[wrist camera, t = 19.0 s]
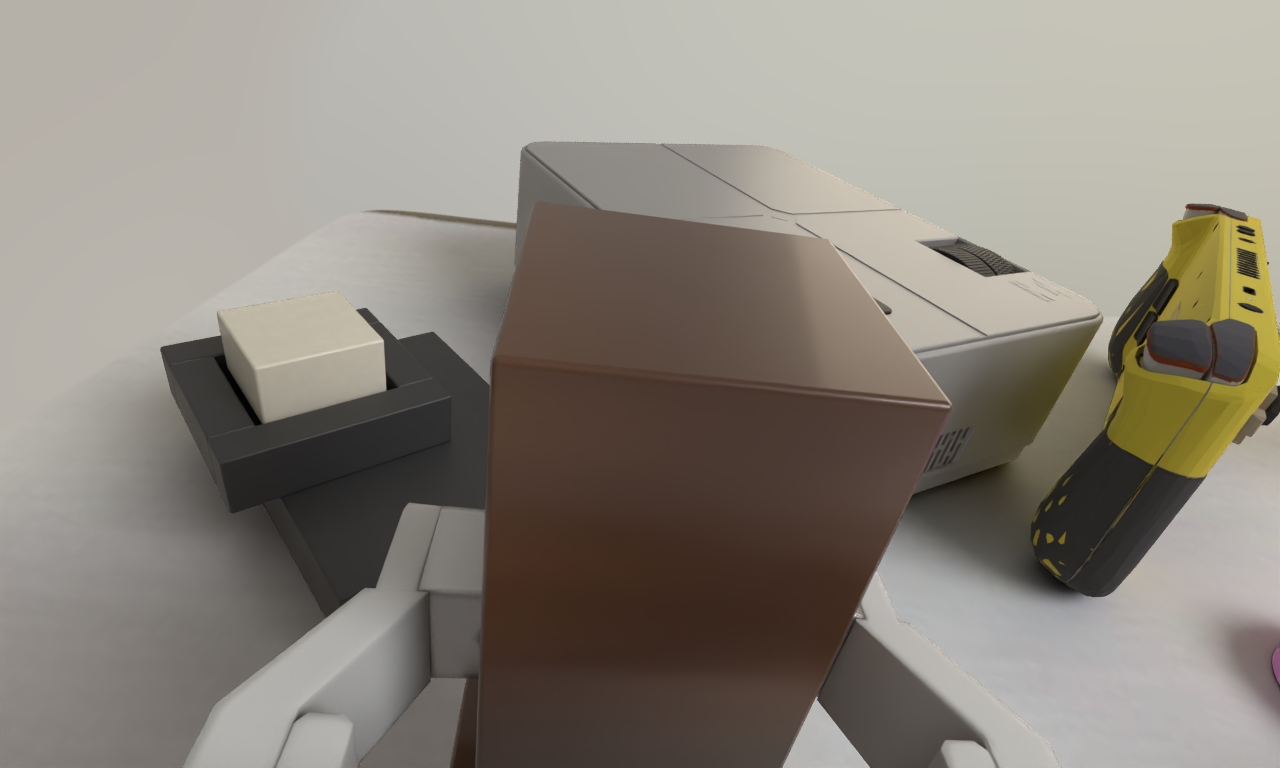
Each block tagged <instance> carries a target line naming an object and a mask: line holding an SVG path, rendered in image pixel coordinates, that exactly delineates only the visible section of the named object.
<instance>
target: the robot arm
mask: <svg viewBox="0 0 1280 768" xmlns="http://www.w3.org/2000/svg"><path fill="white" fill-rule="evenodd" d="M484 524H485V510H482V509H472V508H462V507H452V506H434V505H425V504H416V503H408V504H407V506H406V507H405V508H404V510H403V512H402V515H401V518H400V520H399V523H398V526H397V529H396V532H395V535H394V538H393V540H392V543H391V546H390V549H389V552H388V555H387V557H386V560H385V563H384V566H383V569H382V572H381V574H380V577H379V580H378V583H377V586H376V588H364V589H363V590H362V591H360V592H359V593H358V594H356V595H355V596H354V597H353V598H351V599H350V600H349V601H347V602H346V603H345V604H344V605H342V606H341V607H340V608H338V609H337V610H336V611H335V612H333V613H332V614H331V615H329V616H328V617H327V618H326V619H324V620H323V621H322V622H320V623H319V624H318V625H316V626H315V627H314V628H313V629H311V630H310V631H309V632H307V633H306V634H305V635H304V636H302V637H301V638H300V639H298V640H297V641H296V642H295V643H293V644H292V645H291V646H289V647H288V648H287V649H286V650H284V651H283V652H282V653H280V654H279V655H278V656H277V657H275V658H274V659H273V660H271V661H270V662H269V663H268V664H266V665H265V666H264V667H262V668H261V669H260V670H259V671H257V672H256V673H255V674H253V675H252V676H251V677H250V678H248V679H247V680H246V681H244V682H243V683H242V684H241V685H239V686H238V687H237V688H235V689H234V690H233V691H232V692H230V693H229V694H228V695H226V696H225V697H224V698H222V699H221V700H220V701H219V702H217V703H216V704H215V705H214V707H213V709H212V711H211V713H210V715H209V717H208V718H207V720H206V722H205V724H204V726H203V728H202V730H201V732H200V734H199V736H198V738H197V740H196V742H195V744H194V746H193V748H192V750H191V752H190V754H189V756H188V757H187V759H186V761H185V763H184V765H183V767H182V768H359V767H358V764H359V763H360V762H361V761H362V760H363V759H364V757H365V756H366V755H367V754H368V753H369V752H370V750H371V749H372V748H373V747H374V746H375V745H376V744H377V742H378V741H379V740H380V739H381V738H382V737H383V735H384V734H385V733H386V732H387V731H388V730H389V729H390V727H391V726H392V725H393V724H394V723H395V722H396V720H397V719H398V718H399V717H400V716H401V715H402V713H403V712H404V711H405V710H406V709H407V708H408V707H409V705H410V704H411V703H412V702H413V701H414V700H415V698H416V697H417V696H418V695H419V694H420V693H421V692H422V690H423V689H424V688H425V687H426V686H427V685H428V683H429V682H430V678H468V679H479V656H480V630H481V603H482V577H483V551H484ZM816 697H818V699H817V700H818V701H819V703H820V704H821V705H822V707H823V708H824V709H825V710H826V712H827V713H828V714H829V715H830V717H831V718H832V719H833V721H834V722H835V723H836V724H837V726H838V727H839V728H840V729H841V731H842V732H843V733H844V735H845V736H846V737H847V738H848V740H849V741H850V742H851V743H852V745H853V746H854V747H855V749H856V750H857V751H858V752H859V754H860V755H861V756H862V757H863V759H864V760H865V761H866V763H867V764H868V765H869V766H870V768H1062V766H1061V764H1060V763H1059V761H1058V759H1057V757H1056V755H1055V753H1054V752H1053V750H1052V748H1051V746H1050V744H1049V743H1048V742H1047V741H1046V740H1045V739H1044V738H1043V737H1042V736H1040V735H1039V734H1038V733H1037V732H1036V731H1035V730H1033V729H1032V728H1031V727H1030V726H1029V725H1028V724H1026V723H1025V722H1024V721H1023V720H1022V719H1021V718H1019V717H1018V716H1017V715H1016V714H1015V713H1014V712H1012V711H1011V710H1010V709H1009V708H1008V707H1007V706H1005V705H1004V704H1003V703H1002V702H1001V701H1000V700H998V699H997V698H996V697H995V696H994V695H993V694H991V693H990V692H989V691H988V690H987V689H986V688H984V687H983V686H982V685H981V684H980V683H979V682H977V681H976V680H975V679H974V678H973V677H972V676H970V675H969V674H968V673H967V672H966V671H965V670H964V669H962V668H961V667H960V666H959V665H958V664H957V663H955V662H954V661H953V660H952V659H951V658H950V657H948V656H947V655H946V654H945V653H944V652H943V651H941V650H940V649H939V648H938V647H937V646H936V645H934V644H933V643H932V642H931V641H930V640H929V639H927V638H926V637H925V636H924V635H923V634H922V633H920V632H919V631H918V630H917V629H916V628H915V627H913V626H912V625H911V624H910V623H905V622H900V621H899V619H898V616H897V614H896V612H895V610H894V607H893V605H892V603H891V601H890V598H889V596H888V594H887V592H886V589H885V587H884V585H883V583H882V580H881V578H880V576H879V574H878V571H877V570H876V572H875V574H874V576H873V578H872V580H871V582H870V584H869V587H868V589H867V591H866V593H865V595H864V597H863V599H862V601H861V603H860V605H859V608H858V610H857V612H856V614H855V616H854V618H853V620H852V622H851V624H850V626H849V629H848V631H847V633H846V635H845V637H844V639H843V641H842V643H841V645H840V647H839V649H838V652H837V654H836V656H835V658H834V660H833V662H832V664H831V666H830V668H829V670H828V673H827V675H826V677H825V679H824V681H823V683H822V685H821V687H820V689H819V691H818V694H817V696H816Z"/></svg>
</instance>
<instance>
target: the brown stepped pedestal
mask: <svg viewBox="0 0 1280 768" xmlns="http://www.w3.org/2000/svg"><path fill="white" fill-rule="evenodd" d="M951 413H952V403H951V402H950V400H949V399H948V398H947V396H946V395H945V394H944V392H943V391H942V390H941V388H940V387H939V386H938V384H937V383H936V382H935V380H934V379H933V378H932V376H931V375H930V374H929V372H928V371H927V370H926V368H925V367H924V366H923V364H922V363H921V362H920V360H919V359H918V358H917V356H916V355H915V354H914V352H913V351H912V350H911V348H910V347H909V346H908V344H907V343H906V342H905V340H904V339H903V338H902V336H901V335H900V334H899V332H898V331H897V329H896V328H895V327H894V325H893V324H892V323H891V321H890V320H889V319H888V317H887V316H886V315H885V313H884V312H883V311H882V309H881V308H880V307H879V305H878V304H877V303H876V301H875V300H874V299H873V297H872V296H871V295H870V293H869V292H868V291H867V289H866V288H865V287H864V285H863V284H862V283H861V281H860V280H859V279H858V277H857V276H856V275H855V273H854V272H853V271H852V269H851V268H850V267H849V265H848V264H847V263H846V261H845V260H844V258H843V257H842V256H841V254H840V253H839V252H838V250H837V249H836V248H835V246H834V245H833V244H832V242H831V241H829V240H828V239H823V238H815V237H807V236H800V235H792V234H784V233H777V232H769V231H761V230H754V229H746V228H738V227H731V226H723V225H715V224H708V223H700V222H692V221H685V220H677V219H669V218H662V217H654V216H646V215H639V214H631V213H623V212H616V211H608V210H601V209H593V208H585V207H578V206H570V205H562V204H555V203H547V202H539V201H538V202H534V204H533V206H532V209H531V213H530V217H529V220H528V224H527V228H526V231H525V235H524V239H523V243H522V246H521V250H520V254H519V258H518V261H517V265H516V269H515V272H514V276H513V280H512V284H511V287H510V291H509V295H508V298H507V302H506V306H505V310H504V313H503V317H502V321H501V325H500V328H499V332H498V336H497V339H496V343H495V347H494V351H493V354H492V358H491V366H490V393H489V419H488V445H487V472H486V498H485V524H484V551H483V577H482V603H481V630H480V656H479V679H468V678H466V683H465V688H464V694H463V699H462V705H461V710H460V715H459V721H458V726H457V731H456V737H455V742H454V748H453V753H452V758H451V764H450V768H782V767H783V765H784V763H785V761H786V759H787V756H788V754H789V752H790V750H791V748H792V746H793V744H794V742H795V740H796V738H797V735H798V733H799V731H800V729H801V727H802V725H803V723H804V721H805V719H806V717H807V714H808V712H809V710H810V708H811V706H812V704H813V702H814V700H815V698H816V696H817V694H818V691H819V689H820V687H821V685H822V683H823V681H824V679H825V677H826V675H827V673H828V670H829V668H830V666H831V664H832V662H833V660H834V658H835V656H836V654H837V652H838V649H839V647H840V645H841V643H842V641H843V639H844V637H845V635H846V633H847V631H848V629H849V626H850V624H851V622H852V620H853V618H854V616H855V614H856V612H857V610H858V608H859V605H860V603H861V601H862V599H863V597H864V595H865V593H866V591H867V589H868V587H869V584H870V582H871V580H872V578H873V576H874V574H875V572H876V570H877V568H878V566H879V564H880V561H881V559H882V557H883V555H884V553H885V551H886V549H887V547H888V545H889V543H890V540H891V538H892V536H893V534H894V532H895V530H896V528H897V526H898V524H899V522H900V519H901V517H902V515H903V513H904V511H905V509H906V507H907V505H908V503H909V501H910V499H911V496H912V494H913V492H914V490H915V488H916V486H917V484H918V482H919V480H920V478H921V475H922V473H923V471H924V469H925V467H926V465H927V463H928V461H929V459H930V457H931V454H932V452H933V450H934V448H935V446H936V444H937V442H938V440H939V438H940V436H941V434H942V431H943V429H944V427H945V425H946V423H947V421H948V419H949V417H950V415H951Z"/></svg>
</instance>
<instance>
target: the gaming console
mask: <svg viewBox="0 0 1280 768" xmlns="http://www.w3.org/2000/svg"><path fill="white" fill-rule="evenodd" d="M1268 264H1269V263H1268V262H1267V259H1266V252H1265V245H1264V239H1263V233H1262V226H1261V220H1259V219H1257V218H1253V217H1250V216H1246V215H1245V213H1243V212H1239V211H1235V210H1232V209H1228V208H1224V207H1222V208H1221V207H1220V206H1216V205H1212V204H1187V205H1186V211H1185V214H1184V217H1183V220H1178V221H1176V222H1174V223H1173V224H1172V246H1171V249H1170V251H1169V254H1168V256H1167V257H1166V258H1165V260H1164V261H1163V262H1162V263H1161V264H1160V266H1159V267H1158V269H1157V270H1156V271H1155V273H1154V274H1153V275H1152V276H1151V277H1150V279H1149V280H1148V281H1147V282H1146V283H1145V285H1144V286H1143V287H1142V288H1141V289H1140V291H1139V292H1138V293H1137V294H1136V295H1135V297H1134V298H1133V299H1132V300H1131V302H1130V303H1129V305H1128V306H1127V308H1126V309H1125V311H1124V312H1123V314H1122V315H1121V317H1120V319H1119V320H1118V322H1117V324H1116V326H1115V328H1114V330H1113V332H1112V335H1111V339H1110V342H1109V347H1108V360H1109V364H1110V367H1111V369H1112V371H1113V372H1114V374H1115V376H1116V378H1117V387H1116V390H1115V393H1114V396H1113V400H1112V403H1111V406H1110V409H1109V412H1108V415H1107V418H1106V420H1105V423H1104V426H1103V429H1102V432H1101V433H1100V434H1099V435H1098V437H1097V438H1096V439H1095V440H1094V441H1093V442H1092V443H1091V444H1090V446H1089V447H1088V448H1087V449H1086V450H1085V451H1084V452H1083V453H1082V455H1081V456H1080V457H1079V458H1078V459H1077V460H1076V461H1075V463H1074V464H1073V465H1072V466H1071V467H1070V468H1069V469H1068V470H1067V472H1066V473H1065V474H1064V475H1063V476H1062V477H1061V478H1060V479H1059V480H1058V482H1057V483H1056V484H1055V486H1054V487H1053V488H1052V489H1051V491H1050V492H1049V493H1048V494H1047V496H1046V497H1045V498H1044V500H1043V501H1042V502H1041V503H1040V505H1039V508H1038V510H1037V512H1036V515H1035V517H1034V518H1033V522H1032V524H1031V536H1030V538H1031V539H1030V540H1031V543H1032V545H1033V548H1034V551H1035V554H1036V556H1037V557H1038V559H1039V560H1040V562H1041V563H1042V564H1043V565H1044V566H1045V567H1046V569H1047V570H1048V571H1049V572H1050V573H1051V574H1053V575H1054V576H1055V577H1056V578H1057V579H1058V580H1060V581H1061V582H1062V583H1064V584H1065V585H1067V586H1069V587H1071V588H1073V589H1074V590H1076V591H1078V592H1080V593H1082V594H1084V595H1086V596H1091V597H1103V596H1107V595H1108V594H1110V593H1112V592H1113V591H1114V590H1115V589H1116V588H1117V587H1118V586H1119V585H1120V584H1121V583H1122V581H1123V580H1124V579H1125V578H1126V577H1127V576H1128V575H1129V574H1130V573H1131V571H1132V570H1133V569H1134V568H1135V567H1136V565H1137V564H1138V563H1139V562H1140V560H1141V559H1142V558H1143V557H1144V555H1145V554H1146V553H1147V552H1148V550H1149V549H1150V548H1151V546H1152V545H1153V544H1154V543H1155V541H1156V540H1157V539H1158V537H1159V536H1160V535H1161V534H1162V532H1163V531H1164V530H1165V529H1166V527H1167V526H1168V525H1169V523H1170V522H1171V521H1172V520H1173V518H1174V517H1175V516H1176V515H1177V513H1178V512H1179V511H1180V509H1181V508H1182V507H1183V506H1184V504H1185V503H1186V502H1187V501H1188V499H1189V498H1190V497H1191V495H1192V494H1193V493H1194V492H1195V490H1196V489H1197V488H1198V487H1199V485H1200V484H1201V483H1202V481H1203V480H1204V479H1205V478H1206V476H1207V473H1208V472H1209V471H1210V469H1211V468H1212V467H1213V465H1214V464H1215V463H1216V461H1217V460H1218V459H1219V458H1220V456H1221V455H1222V454H1223V452H1224V451H1225V450H1226V448H1227V447H1228V446H1229V445H1230V443H1231V442H1233V443H1236V444H1240V443H1241V442H1242V441H1243V439H1244V438H1245V436H1246V435H1247V436H1250V437H1251V436H1252V435H1253V434H1254V433H1255V432H1256V430H1257V429H1258V428H1259V427H1260V426H1261V425H1266V426H1267V425H1269V424H1270V423H1271V422H1272V421H1273V420H1274V419H1275V418H1276V416H1277V415H1278V414H1279V412H1280V386H1277V385H1276V384H1277V381H1278V378H1279V374H1280V341H1279V335H1278V328H1277V322H1276V316H1275V310H1274V304H1273V297H1272V291H1271V284H1270V277H1269V271H1268Z"/></svg>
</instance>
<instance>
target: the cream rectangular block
mask: <svg viewBox="0 0 1280 768" xmlns="http://www.w3.org/2000/svg"><path fill="white" fill-rule="evenodd" d="M217 318H218V323H219V328H220V333H221V338H222V343H223V348H224V353H225V358H226V363H227V367H228V369H229V371H230V372H231V374H232V376H233V377H234V379H235V381H236V382H237V384H238V385H239V387H240V389H241V390H242V392H243V394H244V395H245V397H246V398H247V400H248V402H249V403H250V405H251V407H252V408H253V410H254V412H255V413H256V415H257V416H258V418H259V420H260V421H261V423H262V424H265V423H269V422H272V421H276V420H280V419H284V418H287V417H291V416H295V415H299V414H302V413H306V412H310V411H313V410H317V409H321V408H325V407H328V406H332V405H336V404H339V403H343V402H347V401H351V400H354V399H358V398H362V397H365V396H369V395H373V394H377V393H380V392H384V391H386V373H385V355H384V340H383V339H382V338H381V337H380V336H379V334H378V333H377V332H376V331H375V330H374V329H373V328H372V327H371V326H370V325H369V324H368V323H367V322H366V321H365V319H364V318H363V317H362V316H361V315H360V314H359V313H358V312H357V311H356V310H355V309H354V308H353V307H352V306H351V304H350V303H349V302H348V301H347V300H346V299H345V298H344V297H343V296H342V295H341V294H340V293H339V292H338V291H334V292H328V293H322V294H317V295H311V296H305V297H299V298H293V299H287V300H281V301H276V302H270V303H264V304H258V305H252V306H246V307H241V308H235V309H229V310H223V311H219V312H217Z"/></svg>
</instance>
